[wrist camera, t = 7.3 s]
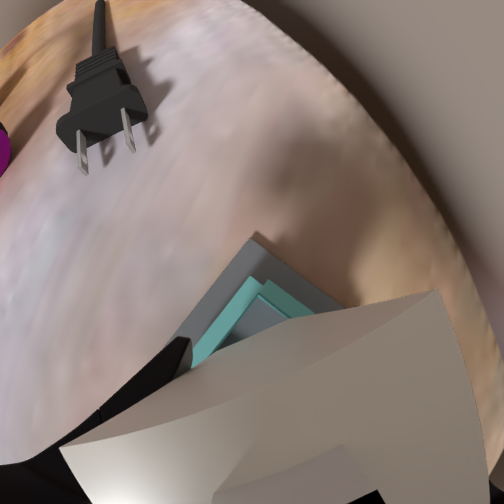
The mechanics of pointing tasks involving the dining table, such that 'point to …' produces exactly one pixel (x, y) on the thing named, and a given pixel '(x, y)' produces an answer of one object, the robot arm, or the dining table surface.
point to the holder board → (250, 302)
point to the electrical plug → (100, 98)
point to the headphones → (4, 149)
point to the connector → (304, 419)
